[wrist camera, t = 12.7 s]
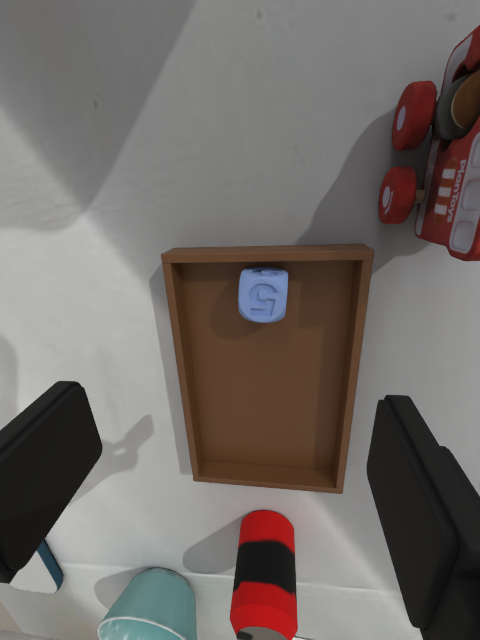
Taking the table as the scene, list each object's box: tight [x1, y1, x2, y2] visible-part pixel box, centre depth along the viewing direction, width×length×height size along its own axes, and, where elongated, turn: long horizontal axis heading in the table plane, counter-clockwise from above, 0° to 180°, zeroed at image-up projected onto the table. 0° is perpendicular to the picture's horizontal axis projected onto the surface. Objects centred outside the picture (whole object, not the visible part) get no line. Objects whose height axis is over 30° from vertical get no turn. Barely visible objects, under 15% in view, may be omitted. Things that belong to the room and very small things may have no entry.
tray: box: [161, 244, 374, 494], centre depth 31 cm, size 28×18×3 cm, turn 2°
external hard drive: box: [9, 540, 63, 594], centre depth 52 cm, size 24×12×2 cm, turn 6°
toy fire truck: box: [378, 25, 480, 261], centre depth 18 cm, size 7×12×10 cm, turn 0°
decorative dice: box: [238, 267, 288, 323], centre depth 26 cm, size 4×4×4 cm
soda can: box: [230, 510, 298, 640], centre depth 37 cm, size 8×8×12 cm
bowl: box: [98, 568, 197, 640], centre depth 48 cm, size 16×16×8 cm
